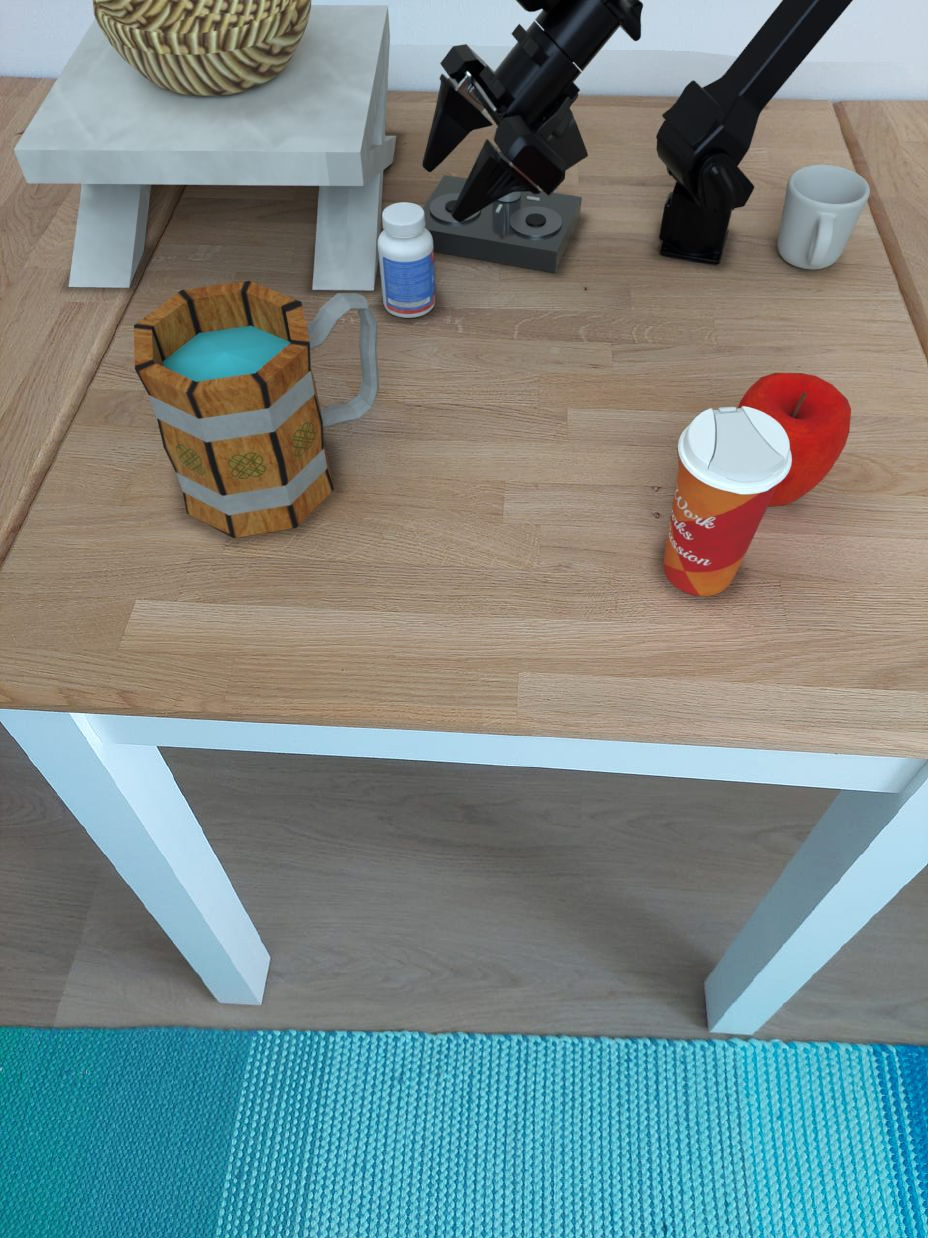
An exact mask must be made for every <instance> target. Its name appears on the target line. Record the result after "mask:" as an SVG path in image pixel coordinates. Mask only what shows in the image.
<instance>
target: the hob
mask: <svg viewBox="0 0 928 1238" xmlns="http://www.w3.org/2000/svg"><path fill="white" fill-rule="evenodd" d="M467 178H468V177H460V176H453V175H448V174H443V175H442V177H441V179H440V180H439V182H438V184H437V185H436V186H435V188H434V190H433V191H432V193H431V194H430V196H429V197H428V199H427V201H426V203H425V204H424V206H423V207H422V209H423V210H424V215H425V228H426V229H427V230H428V231H429V232H430V233H431V235H432V238H433V250H434V253H439V254H444V255H445V254H446V255H450V256H454V257H455V256H456V257H462V258H467V259H472V260H479V261H484V262H490V263H495V264H501V265H507V266H511V267H516V268H517V267H518V268H523V269H529V270H534V271H540V272H546V273H551V274H556V273H557V270H558V268H559V266H560V263H561V261H562V259H563V256H564V254H565V253H566V250H567V248H568V245H569V243H570V242H571V239H572V237H573V235H574V233H575V230H576V228H577V226H578V223H579V222H580V219H581V213H582V212H581V211H582V202H583V201H582V200H583V197H582V196H577V195H572V194H565V193H559V192H553V193H552V194H551V196H548V195H547V194H546V193H545V192H544V191H543V190H541V189H539V190H540V191H541V193H540V194H536V195H534V194H533V193H531V192H522V194H521V197H520V198H519V199H517V200H515V201H512V202H503V201H499V200H497V201H495V202H493V203H492V204H490V205H488V206H487V207H485V208H484V209H482V210H481V212H480V214H479V216H478V217H477V218H475V219H474V220H472V221H469V222H466V223H461V224H449V223H444V222H441V221H438V220H436V219H435V218H434V217H433V216H432V215H431V214H430V209H429V207H430V204H431V202H432V201H433V200H434V199H436V198H437V197H439V196H442V195H445V194H451V193H461V191H462V189H463V186H464V184H465V182H466V180H467ZM532 206H538V207H545V208H549V209H551V210H553V211H555V212H557V213H558V214H559V215H560V216H561V218H562V226H561V228H560V230H559V231H558V232H557V233H555V234H553V235H551V236H548V237H543V238H530V237H525V236H522V235H519V234H517V233H516V232H514V231H513V230H512V229H511V227H510V224H509V220H510V217H511V215H512V214H513V213H514V212H515V211H517V210H519V209H522V208H525V207H532Z"/></svg>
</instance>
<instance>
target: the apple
mask: <svg viewBox="0 0 928 1238" xmlns="http://www.w3.org/2000/svg"><path fill="white" fill-rule="evenodd" d="M742 406H745V407H750V408H753V409H756V410H759V411H761V412H764V413H765V414H767V415H769V416H771V417H772V418H773V419H775V420H776V421H777V422H778V423H779V424H780V425H781V426H782V427H783V429H784V430H785V432H786V434H787V436H788V439H789V444H790V451H791V456H792V463H791V467H790V470H789V472H788V474H787V475H786V477H785V478H784V479H783V480H782V481H781V482H780V483H778V485H777V487H776V489H775V491H774V494H773V496H772V498H771V500H770V502H769V504H768V507H769V508H771V507H778V506H779V507H780V506H781V507H782V506H786V505H788V504H790V503H794V502H795V501H797V500H798V499H800V498H802V497H803V496H805V495H806V494H807V493H809V492H810V491H812V490H813V489H814V488H816V487H817V486H818V485H819V484H820V483H821V482H822V481H823V480H824V479H825V477H826V476H828V474H829V473H830V471H831V470H832V469H833V467H834V466H835V464H836V462H837V461H838V459H839V457H840V456H841V454H842V453H843V450H844V449H845V446H846V445H847V440H848V438H849V434H850V432H851V431H850V430H851V418H852V417H851V416H852V408H851V405H850V402H849V399H848V398H847V397H846V396H845V395H844V394H843V393H842V392H841V391H840V390H839V389H837V387H836V386H835V385H834V384H832V383H831V382H829V381H827V380H825V379H823V378H821V377H819V376H817V375H814V374H810V373H809V374H808V373H804V372H803V373H802V372H773V373H770V374H767V375H764V376H763V375H762V376H760V377H759V378H758V380H756V381H755V382H754V383H753V384H752V385H750V387H749V388H748V389H747V391H746V392H745V393H744V395H743V396H742V398H741V399H740V401H739V404H738V407H737V408H740V409H741V407H742Z"/></svg>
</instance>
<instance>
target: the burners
mask: <svg viewBox="0 0 928 1238" xmlns="http://www.w3.org/2000/svg"><path fill="white" fill-rule="evenodd" d="M459 195H460V193H451V194H445V195H442V196H439V197H437V198H436V199H434V200H433V201H432V202H431V204H430V207H429V209H430V214H431V215H432V216H433V217H434V218H435V219H436V220H438V221H441V222H444V223H449V224H461V223H466V222H469V221H472V220H474V219H475V218H477V217H478V216H479V214H480V212H481V210H480V211H479V212H477V213H475V214H474V215H472V216H470V217H469V218H467V219H466V220H464V221H462V222H457V221H456V220H455V219H454V218H453V217H452V215H451V214H452V211H453V209H454V206H455V204H456V201H457V199H458V197H459ZM509 224H510V227H511V229H512V230H513V231H514V232H516V233H517V234H519V235H522V236H525V237H530V238H543V237H548V236H551V235H553V234H555V233H557V232H558V231H559V230H560V228H561V226H562V218H561V216H560V215H559V214H558V213H557V212H555V211H553V210H551V209H549V208H545V207H538V206H532V207H525V208H522V209H519V210H517V211H515V212H514V213H513V214H512V215H511V217H510V220H509Z"/></svg>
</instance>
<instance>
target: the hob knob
mask: <svg viewBox="0 0 928 1238" xmlns="http://www.w3.org/2000/svg"><path fill="white" fill-rule="evenodd" d="M521 194H522V192H513V193H510V194H508V195H506V196H504V197H502V198H500V199H498V200H499V201H503V202H512V201H515V200H517V199H519V198H520V197H521Z"/></svg>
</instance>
